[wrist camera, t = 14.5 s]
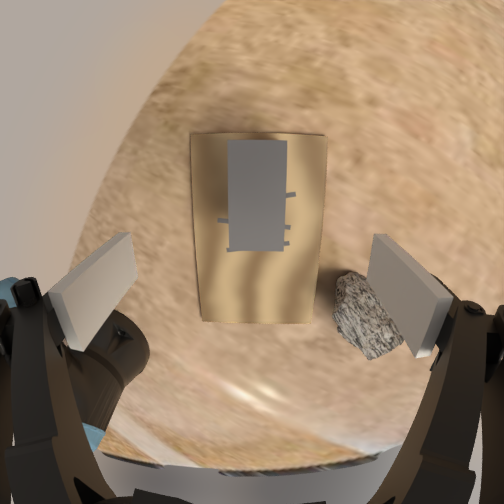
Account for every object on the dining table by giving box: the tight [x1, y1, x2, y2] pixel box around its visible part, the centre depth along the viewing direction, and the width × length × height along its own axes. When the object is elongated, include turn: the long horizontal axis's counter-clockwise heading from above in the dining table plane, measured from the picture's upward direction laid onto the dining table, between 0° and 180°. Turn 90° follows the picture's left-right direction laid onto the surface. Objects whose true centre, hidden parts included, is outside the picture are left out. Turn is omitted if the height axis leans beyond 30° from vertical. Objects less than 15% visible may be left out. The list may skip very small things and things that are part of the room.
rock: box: [332, 272, 404, 360], centre depth 36 cm, size 16×8×10 cm, turn 40°
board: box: [191, 133, 328, 324], centre depth 35 cm, size 16×26×1 cm, turn 0°
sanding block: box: [227, 140, 287, 252], centre depth 28 cm, size 10×5×9 cm, turn 0°
